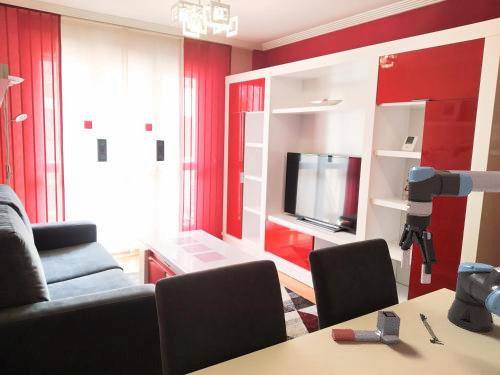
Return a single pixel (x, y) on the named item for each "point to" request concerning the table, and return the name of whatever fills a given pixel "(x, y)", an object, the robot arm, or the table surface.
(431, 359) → the table surface
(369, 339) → the ratchet
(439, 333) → the table surface
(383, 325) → the socket
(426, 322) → the tomahawk
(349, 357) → the table surface
